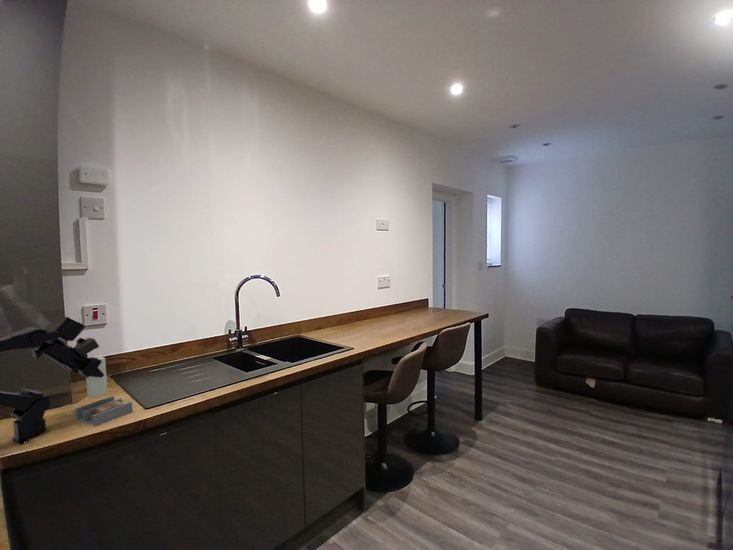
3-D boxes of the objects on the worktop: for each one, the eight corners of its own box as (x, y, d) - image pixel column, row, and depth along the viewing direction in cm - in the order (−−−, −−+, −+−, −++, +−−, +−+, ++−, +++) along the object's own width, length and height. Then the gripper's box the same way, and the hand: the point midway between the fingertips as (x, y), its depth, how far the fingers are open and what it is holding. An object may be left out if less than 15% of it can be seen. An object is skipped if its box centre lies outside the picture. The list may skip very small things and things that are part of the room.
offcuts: (97, 423, 123) (96, 412, 123) (90, 420, 125) (89, 410, 125) (125, 412, 131) (125, 402, 131) (118, 409, 133) (118, 400, 133)
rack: (95, 428, 121) (94, 416, 121) (76, 420, 127) (75, 408, 127) (132, 413, 132) (131, 402, 131) (113, 406, 138) (112, 395, 137)
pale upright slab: (91, 398, 129) (89, 361, 128) (87, 396, 130) (85, 360, 130) (107, 393, 133) (105, 358, 132) (103, 391, 135) (101, 356, 134)
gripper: (92, 335, 122) (130, 359, 132) (68, 329, 132) (105, 352, 142) (65, 365, 116) (107, 387, 126) (42, 357, 126) (82, 378, 136)
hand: (100, 375), depth 133 cm, fingers closed on pale upright slab, 3 cm apart
